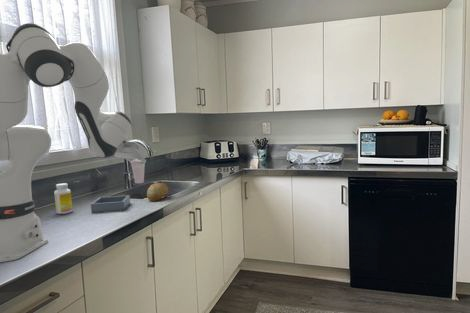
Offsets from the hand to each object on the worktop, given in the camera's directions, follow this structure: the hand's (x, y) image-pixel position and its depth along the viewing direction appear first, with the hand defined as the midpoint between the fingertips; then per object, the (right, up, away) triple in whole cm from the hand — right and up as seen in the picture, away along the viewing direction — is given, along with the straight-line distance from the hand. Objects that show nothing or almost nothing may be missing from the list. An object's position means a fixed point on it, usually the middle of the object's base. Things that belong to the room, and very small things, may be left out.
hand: (139, 162), depth 151 cm
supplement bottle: (-35, -23, +5) cm, 42 cm away
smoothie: (0, -9, 0) cm, 9 cm away
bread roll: (+3, -19, +25) cm, 32 cm away
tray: (-15, -21, +9) cm, 27 cm away
